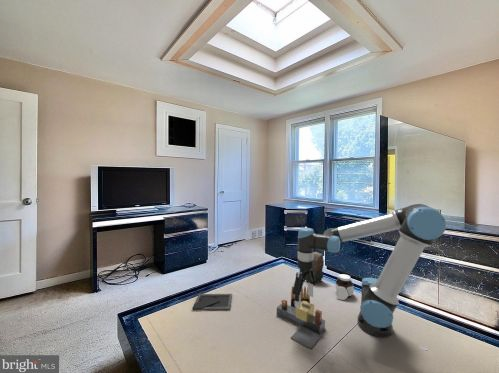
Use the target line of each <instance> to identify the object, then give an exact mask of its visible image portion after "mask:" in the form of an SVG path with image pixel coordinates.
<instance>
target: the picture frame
mask: <svg viewBox="0 0 499 373" xmlns="http://www.w3.org/2000/svg"><path fill="white" fill-rule="evenodd" d="M232 300H233V293H198V294H197V297H196V299H195V302H194V303H193V306H192V310H207V311H231V308H232Z"/></svg>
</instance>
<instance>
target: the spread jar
mask: <svg viewBox="0 0 499 373" xmlns="http://www.w3.org/2000/svg"><path fill="white" fill-rule="evenodd" d="M354 290H355V288H354V283H353V281H352V279H351V275H348V274H344V273H342V274H338V278H337V279H336V281H335V296H336V298H338V299H339V300H341V301H344V300H347V299H349V298H350V297H352V296H353V295H354V293H355V291H354Z"/></svg>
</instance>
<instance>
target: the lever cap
mask: <svg viewBox="0 0 499 373" xmlns="http://www.w3.org/2000/svg"><path fill="white" fill-rule="evenodd" d="M312 316H315V304H313V303H311V302H310V303H308V302H307V301H302V302H301V308H297V307H296V318H299V319H301V320H303V321H305V322H308V321H309V319H310V318H311V317H312Z"/></svg>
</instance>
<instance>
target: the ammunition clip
mask: <svg viewBox="0 0 499 373" xmlns="http://www.w3.org/2000/svg"><path fill="white" fill-rule="evenodd" d="M293 287H294V285H293V286H292V287H291V292H290V306H292V307H294V308H296V307H295V294H292V292H293ZM300 294H301V302H302V301H306V302H308V303H311V300H310V297H311V296H308V286H307V287H306V286H304V287H303V286H302V289H301V292H300Z"/></svg>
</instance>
